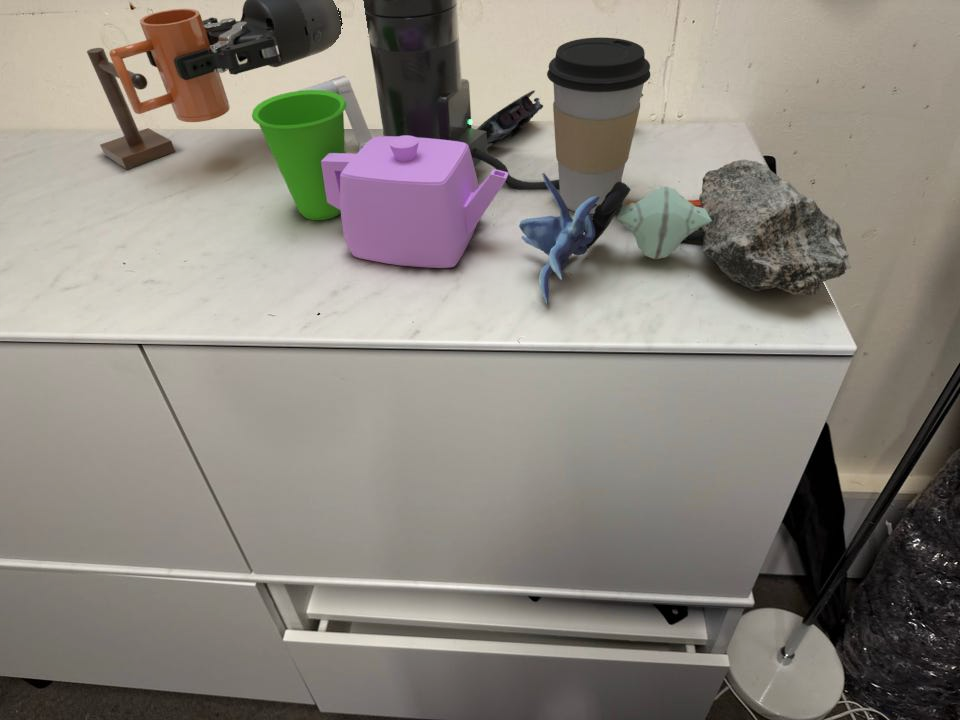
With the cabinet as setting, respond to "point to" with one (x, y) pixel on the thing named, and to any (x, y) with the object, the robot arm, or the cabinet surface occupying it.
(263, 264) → the cabinet surface
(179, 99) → the mug
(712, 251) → the rock
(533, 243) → the figurine
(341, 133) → the cup
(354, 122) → the tablet stand
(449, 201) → the teapot
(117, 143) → the mug stand
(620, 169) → the coffee cup
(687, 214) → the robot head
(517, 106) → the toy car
